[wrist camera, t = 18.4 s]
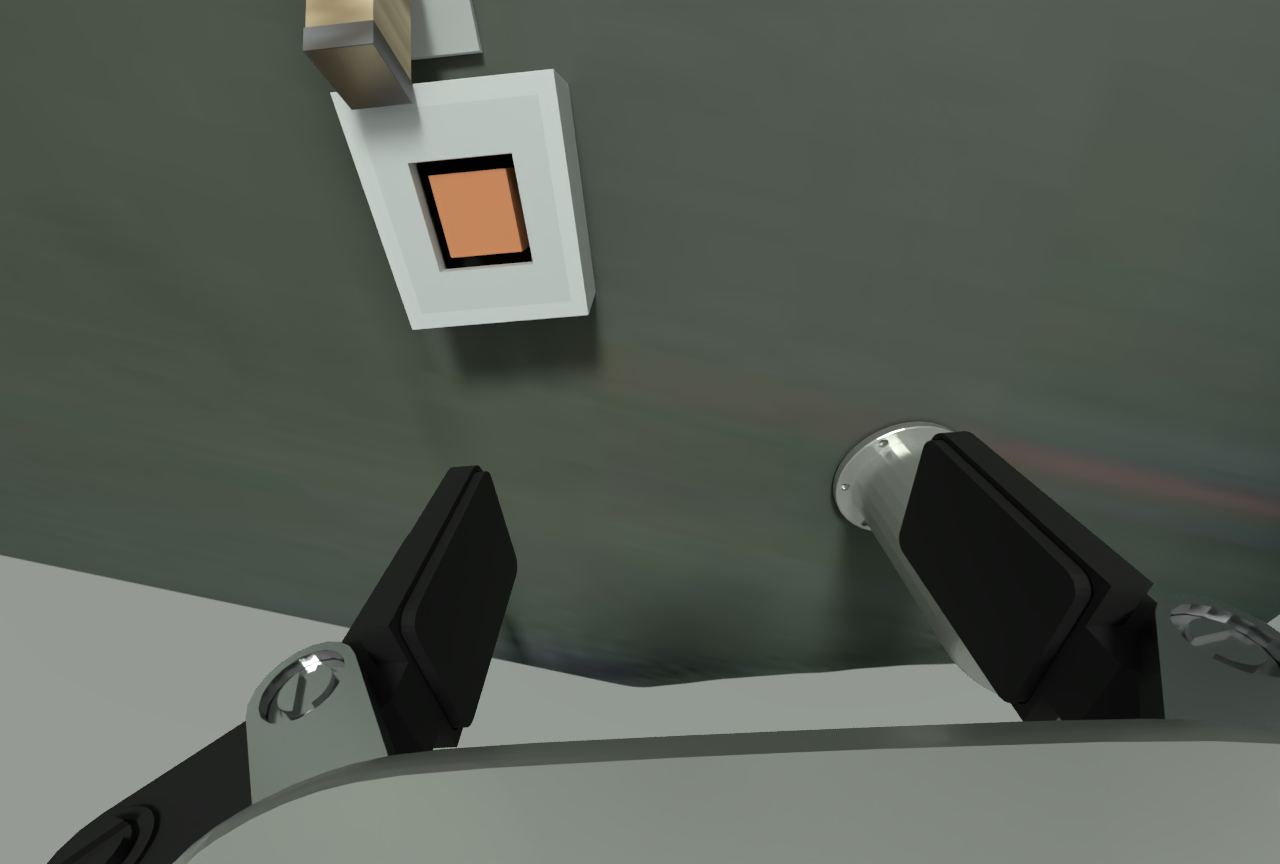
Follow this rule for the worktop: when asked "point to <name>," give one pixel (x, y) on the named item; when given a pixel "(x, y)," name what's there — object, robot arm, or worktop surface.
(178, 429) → the worktop surface
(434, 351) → the worktop surface
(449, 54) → the pad
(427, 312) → the box
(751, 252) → the worktop surface
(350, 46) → the tan wooden block
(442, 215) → the orange cube block
